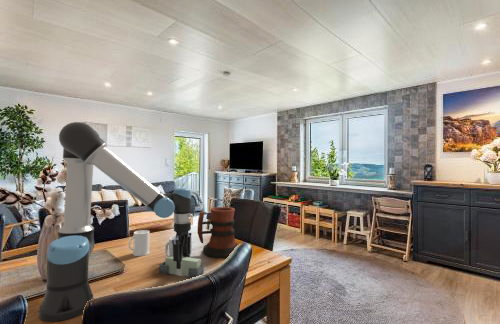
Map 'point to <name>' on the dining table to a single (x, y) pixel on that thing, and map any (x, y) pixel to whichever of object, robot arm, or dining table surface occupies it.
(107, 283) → the dining table surface
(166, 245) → the mug
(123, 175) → the robot arm
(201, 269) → the cap near
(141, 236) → the mug
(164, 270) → the cap far
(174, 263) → the pale green long block
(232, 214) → the tankard
